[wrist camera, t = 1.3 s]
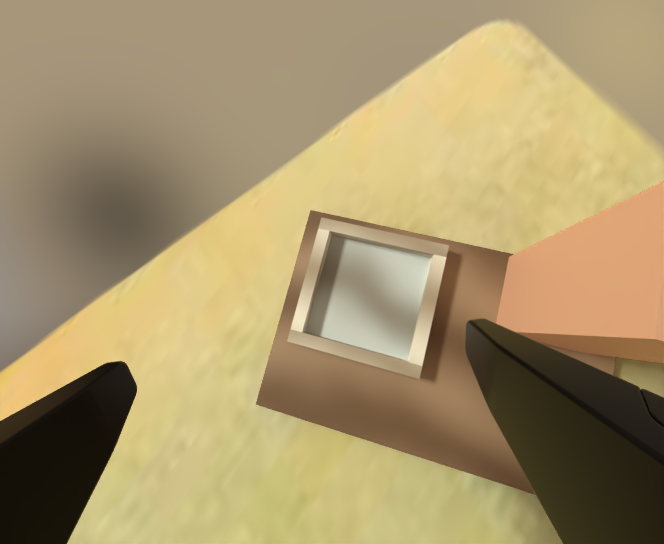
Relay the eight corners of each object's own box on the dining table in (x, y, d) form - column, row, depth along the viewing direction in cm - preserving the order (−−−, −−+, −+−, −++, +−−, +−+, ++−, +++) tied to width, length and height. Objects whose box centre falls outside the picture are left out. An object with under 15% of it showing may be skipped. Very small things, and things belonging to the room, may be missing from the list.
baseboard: (581, 503, 20) (607, 525, 17) (260, 400, 23) (249, 408, 21) (615, 281, 21) (643, 276, 19) (313, 214, 25) (307, 204, 22)
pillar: (578, 352, 20) (871, 390, 8) (494, 330, 21) (654, 338, 9) (590, 274, 21) (880, 209, 9) (509, 256, 21) (677, 174, 10)
